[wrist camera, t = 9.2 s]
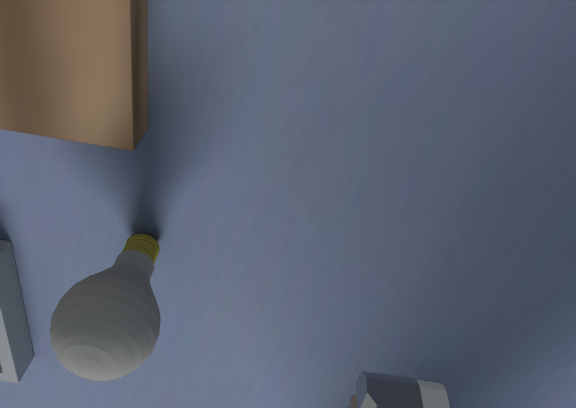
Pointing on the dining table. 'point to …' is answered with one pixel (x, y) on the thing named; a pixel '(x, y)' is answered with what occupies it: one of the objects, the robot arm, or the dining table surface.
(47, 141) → the dining table surface
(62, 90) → the wooden toy brick
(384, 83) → the dining table surface
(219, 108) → the dining table surface
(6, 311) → the tray
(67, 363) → the light bulb
